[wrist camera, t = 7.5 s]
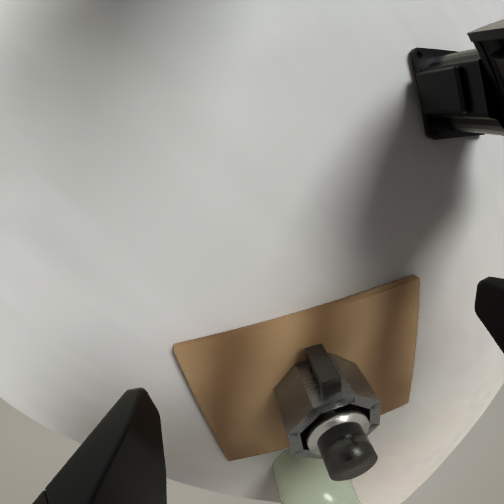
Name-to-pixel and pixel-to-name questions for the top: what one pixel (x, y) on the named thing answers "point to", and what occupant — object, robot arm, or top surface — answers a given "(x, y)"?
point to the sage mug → (309, 482)
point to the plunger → (343, 444)
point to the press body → (322, 395)
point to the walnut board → (293, 351)
